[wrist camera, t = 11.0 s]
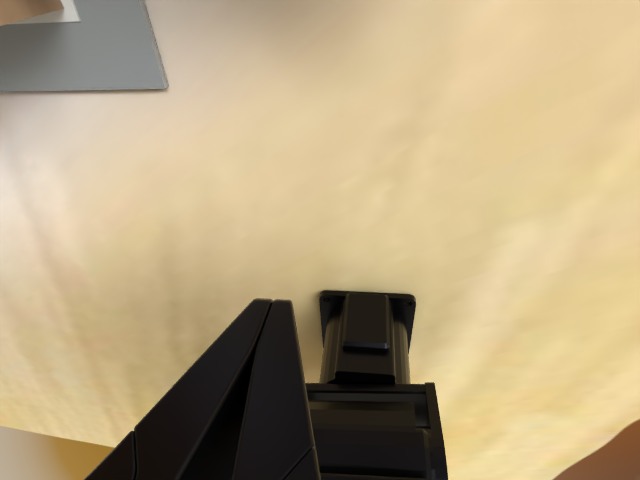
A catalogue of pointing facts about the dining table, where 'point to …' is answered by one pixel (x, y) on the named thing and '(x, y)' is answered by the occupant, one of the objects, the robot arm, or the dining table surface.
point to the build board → (82, 49)
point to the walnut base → (26, 9)
